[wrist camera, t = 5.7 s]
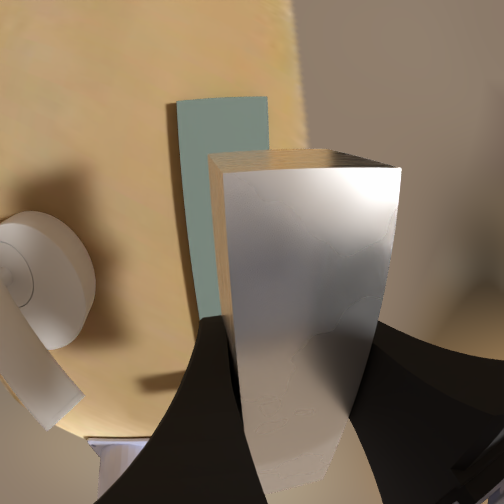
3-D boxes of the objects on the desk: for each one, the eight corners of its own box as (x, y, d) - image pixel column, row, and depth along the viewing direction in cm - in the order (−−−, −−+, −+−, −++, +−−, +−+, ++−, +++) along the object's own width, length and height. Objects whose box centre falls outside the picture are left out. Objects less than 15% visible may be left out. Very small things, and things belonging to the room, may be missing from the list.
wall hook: (46, 461, 10) (-91, 352, 6) (75, 357, 19) (-22, 274, 15) (114, 407, 9) (-81, 235, 5) (138, 287, 18) (24, 182, 14)
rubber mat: (270, 337, 21) (272, 342, 21) (204, 347, 21) (205, 352, 20) (264, 97, 15) (267, 96, 15) (176, 102, 14) (176, 101, 14)
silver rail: (301, 428, 12) (322, 479, 10) (238, 441, 12) (252, 496, 9) (327, 148, 7) (400, 167, 5) (207, 153, 7) (222, 173, 4)
